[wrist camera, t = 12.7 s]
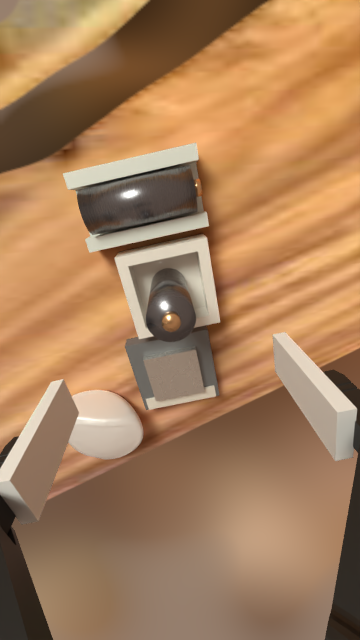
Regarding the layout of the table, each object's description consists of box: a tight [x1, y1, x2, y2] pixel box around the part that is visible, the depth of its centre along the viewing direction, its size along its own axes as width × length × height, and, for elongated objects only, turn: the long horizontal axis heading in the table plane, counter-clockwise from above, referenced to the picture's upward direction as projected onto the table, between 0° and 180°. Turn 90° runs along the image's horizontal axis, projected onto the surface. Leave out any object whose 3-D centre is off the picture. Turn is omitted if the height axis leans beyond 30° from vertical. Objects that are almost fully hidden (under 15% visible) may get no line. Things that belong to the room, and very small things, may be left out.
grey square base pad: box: [125, 325, 219, 410], centre depth 39 cm, size 11×11×2 cm
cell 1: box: [77, 165, 202, 235], centre depth 28 cm, size 12×4×4 cm, turn 102°
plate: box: [143, 346, 205, 401], centre depth 37 cm, size 7×7×1 cm
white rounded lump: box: [68, 390, 144, 459], centre depth 39 cm, size 10×11×12 cm
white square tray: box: [114, 234, 220, 339], centre depth 33 cm, size 10×10×4 cm
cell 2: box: [146, 268, 196, 342], centre depth 29 cm, size 4×4×12 cm
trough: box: [63, 143, 209, 252], centre depth 29 cm, size 13×8×3 cm, turn 102°
